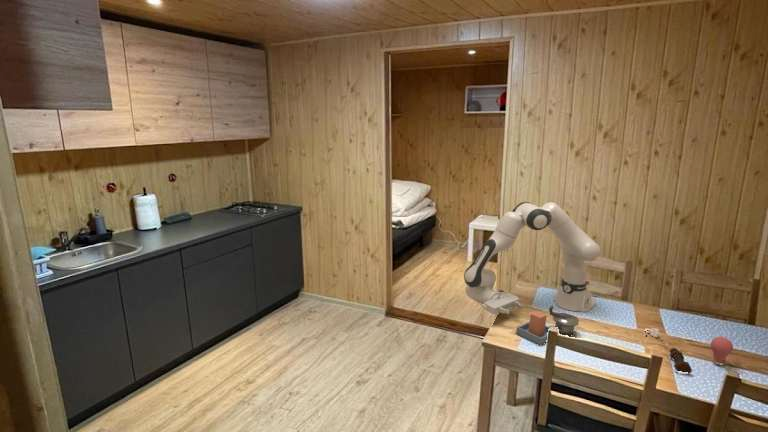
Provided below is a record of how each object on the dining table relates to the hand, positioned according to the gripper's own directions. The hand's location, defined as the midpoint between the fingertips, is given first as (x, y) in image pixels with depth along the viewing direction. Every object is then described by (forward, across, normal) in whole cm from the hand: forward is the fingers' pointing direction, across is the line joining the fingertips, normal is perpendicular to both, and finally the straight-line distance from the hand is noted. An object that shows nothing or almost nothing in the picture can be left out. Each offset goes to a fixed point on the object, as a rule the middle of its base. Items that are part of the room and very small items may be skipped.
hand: (515, 310), depth 198 cm
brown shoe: (+59, +29, +8) cm, 66 cm away
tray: (+12, 0, +8) cm, 14 cm away
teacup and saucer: (+44, +49, +8) cm, 66 cm away
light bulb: (+68, +43, +8) cm, 81 cm away
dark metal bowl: (+16, +14, +8) cm, 23 cm away
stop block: (+12, 0, +7) cm, 14 cm away
